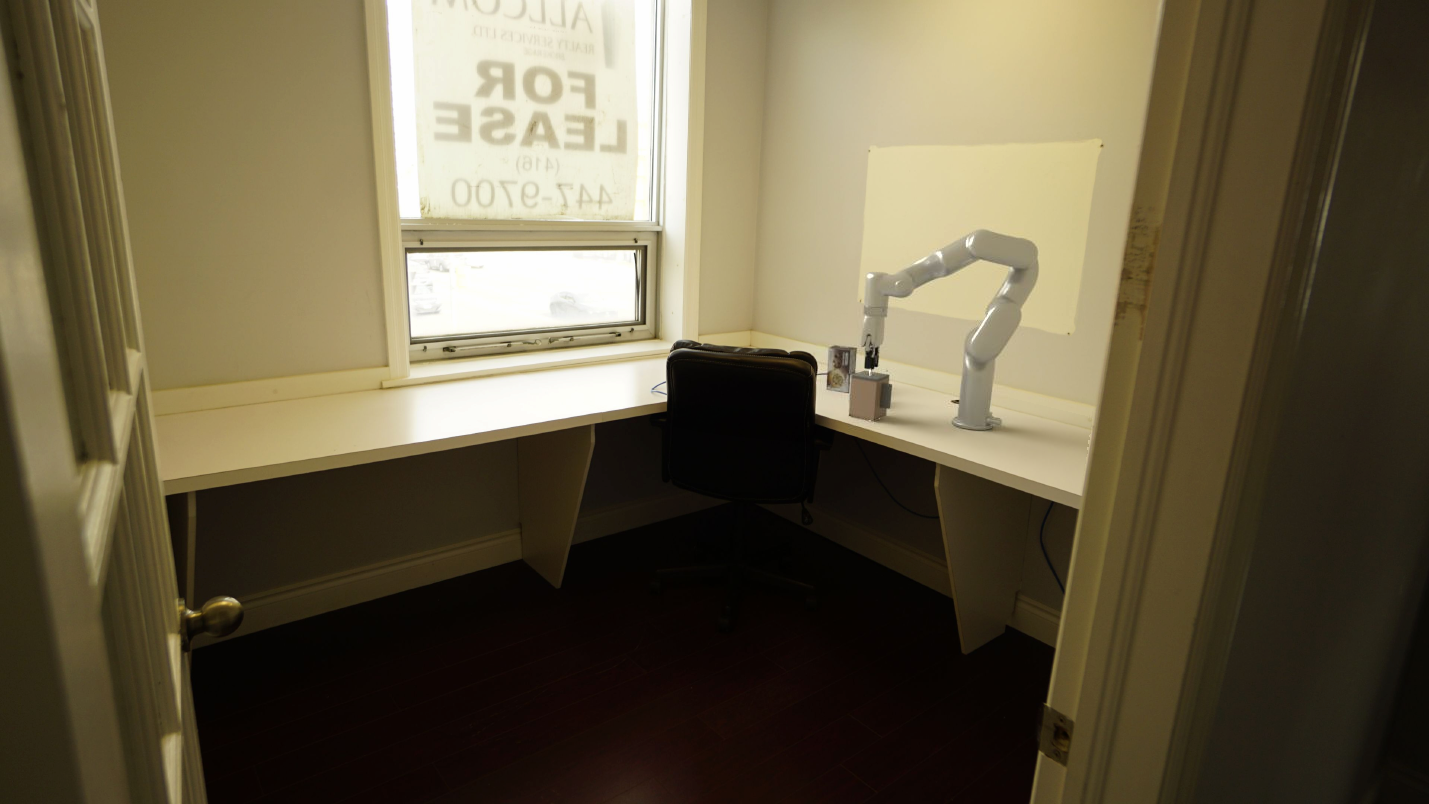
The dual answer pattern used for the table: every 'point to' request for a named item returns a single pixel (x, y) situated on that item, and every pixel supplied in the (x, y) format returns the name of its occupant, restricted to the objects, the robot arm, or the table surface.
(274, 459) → the table surface
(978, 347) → the robot arm
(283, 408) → the table surface
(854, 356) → the coffee box
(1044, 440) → the table surface
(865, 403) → the tan lever base
